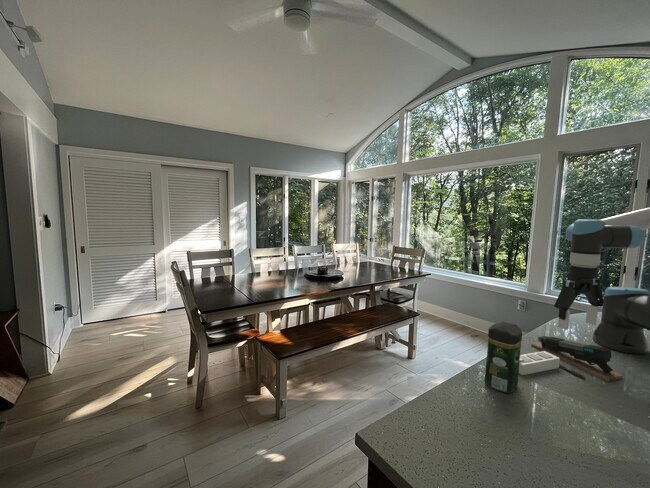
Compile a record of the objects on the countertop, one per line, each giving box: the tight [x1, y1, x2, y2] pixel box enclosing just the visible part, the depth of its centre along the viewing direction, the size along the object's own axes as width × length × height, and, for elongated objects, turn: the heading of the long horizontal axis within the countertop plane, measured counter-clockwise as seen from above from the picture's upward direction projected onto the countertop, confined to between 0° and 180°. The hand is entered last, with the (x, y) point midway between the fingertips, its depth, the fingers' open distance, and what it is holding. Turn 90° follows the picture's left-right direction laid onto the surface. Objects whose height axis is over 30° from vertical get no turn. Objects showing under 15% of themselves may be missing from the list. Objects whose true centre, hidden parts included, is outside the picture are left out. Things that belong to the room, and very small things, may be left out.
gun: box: [537, 335, 614, 373], centre depth 100 cm, size 4×20×10 cm, turn 22°
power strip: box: [518, 350, 586, 380], centre depth 92 cm, size 18×12×4 cm, turn 107°
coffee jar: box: [483, 321, 523, 394], centre depth 85 cm, size 10×8×19 cm
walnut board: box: [531, 342, 623, 382], centre depth 101 cm, size 7×24×1 cm, turn 17°
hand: (577, 326), depth 99 cm, fingers open, 13 cm apart
